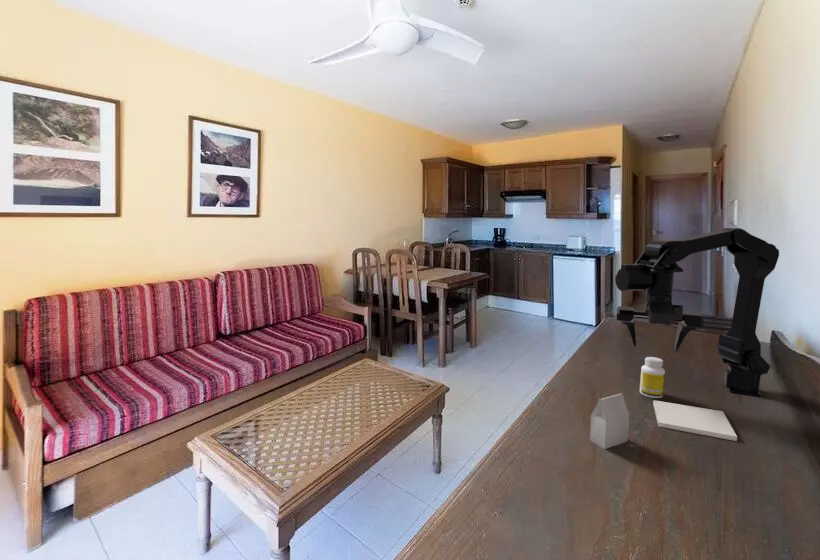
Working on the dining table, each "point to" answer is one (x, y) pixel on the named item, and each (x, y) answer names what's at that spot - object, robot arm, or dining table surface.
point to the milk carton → (610, 422)
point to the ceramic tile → (693, 420)
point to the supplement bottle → (652, 378)
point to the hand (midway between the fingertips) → (654, 348)
